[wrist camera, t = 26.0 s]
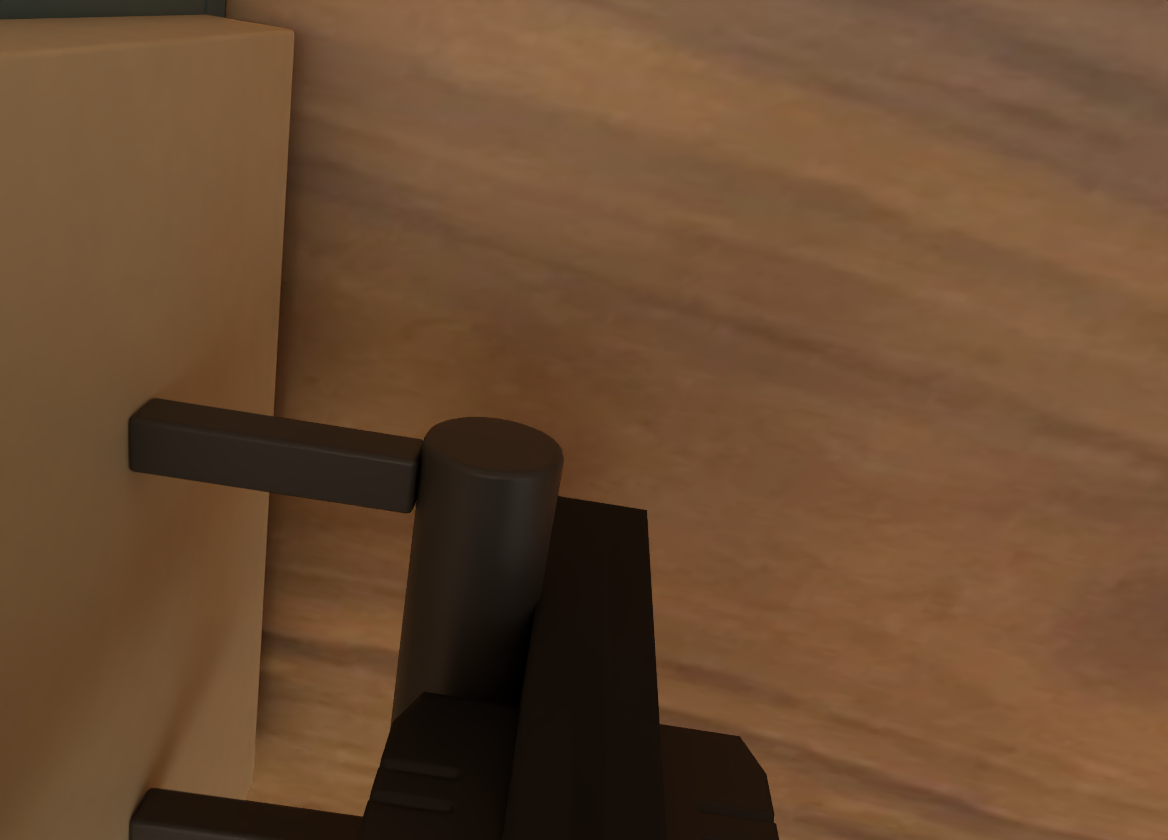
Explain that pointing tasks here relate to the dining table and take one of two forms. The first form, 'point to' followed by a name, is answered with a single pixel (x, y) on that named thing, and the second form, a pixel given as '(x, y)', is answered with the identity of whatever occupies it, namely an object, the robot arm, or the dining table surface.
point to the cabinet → (107, 8)
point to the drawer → (193, 443)
